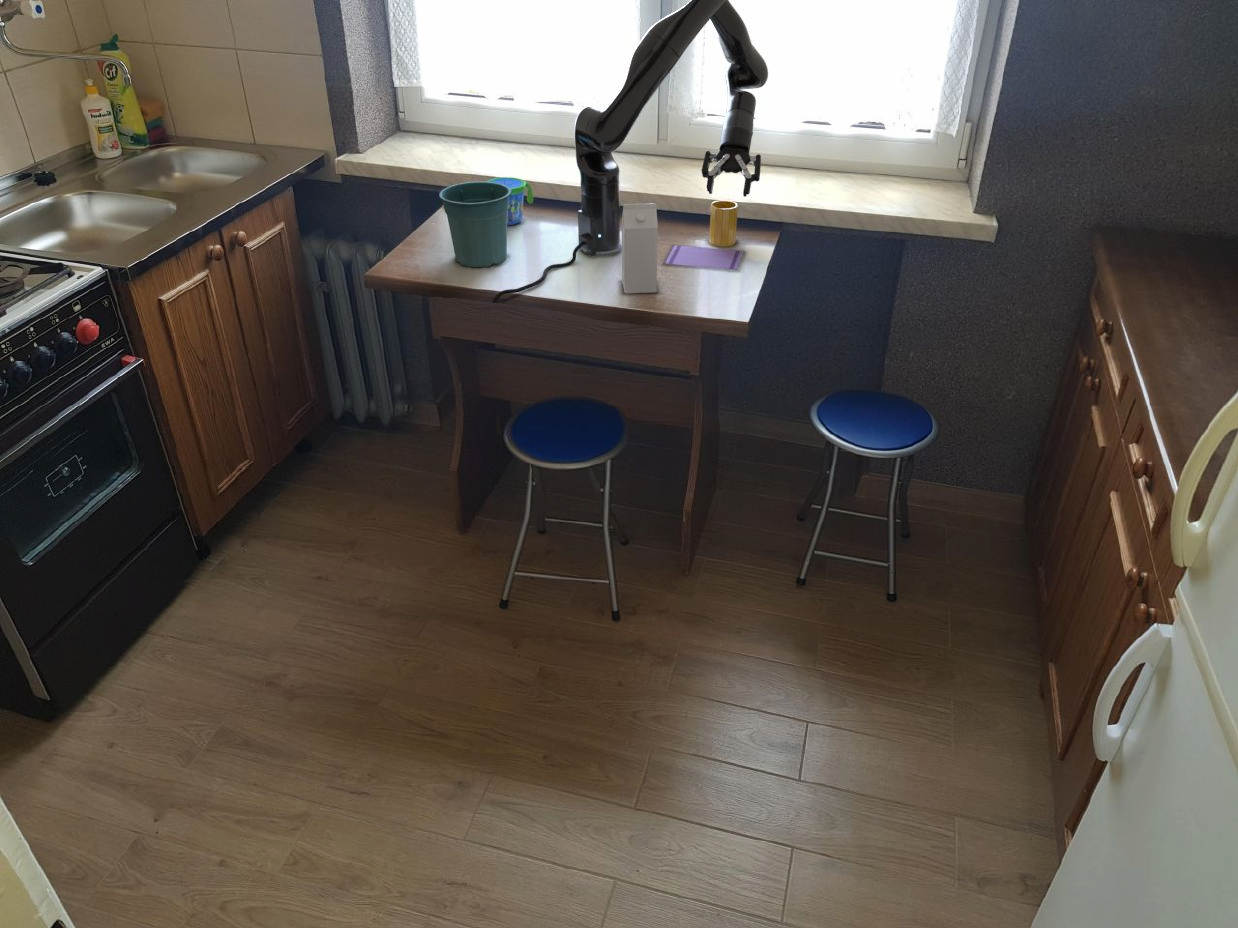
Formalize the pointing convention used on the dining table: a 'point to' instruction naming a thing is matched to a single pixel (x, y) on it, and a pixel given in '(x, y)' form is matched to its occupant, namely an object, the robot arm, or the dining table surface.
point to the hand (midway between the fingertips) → (727, 193)
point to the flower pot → (477, 221)
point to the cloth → (704, 257)
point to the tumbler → (723, 223)
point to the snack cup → (515, 197)
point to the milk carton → (639, 248)
